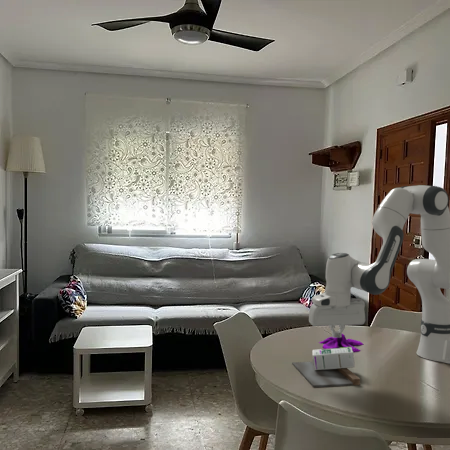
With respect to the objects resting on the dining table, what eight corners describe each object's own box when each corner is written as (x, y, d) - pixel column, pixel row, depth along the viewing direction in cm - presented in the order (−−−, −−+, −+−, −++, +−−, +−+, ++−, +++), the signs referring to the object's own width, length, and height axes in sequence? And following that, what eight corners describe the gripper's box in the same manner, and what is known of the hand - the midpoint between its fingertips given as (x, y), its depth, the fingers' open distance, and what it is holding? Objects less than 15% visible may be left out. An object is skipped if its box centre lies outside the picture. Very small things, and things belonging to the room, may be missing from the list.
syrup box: (353, 352, 161) (312, 354, 163) (355, 368, 161) (313, 370, 164) (351, 346, 167) (311, 349, 169) (353, 362, 167) (313, 364, 169)
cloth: (362, 342, 203) (363, 328, 203) (366, 355, 185) (367, 340, 185) (312, 338, 208) (312, 325, 207) (311, 351, 190) (311, 336, 189)
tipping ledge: (333, 362, 175) (333, 357, 174) (359, 384, 153) (360, 378, 153) (292, 363, 172) (292, 358, 172) (313, 387, 150) (313, 381, 150)
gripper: (360, 296, 167) (359, 333, 167) (307, 297, 163) (306, 335, 164) (369, 299, 161) (367, 338, 161) (314, 301, 157) (313, 340, 158)
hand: (336, 337), depth 163 cm, fingers closed
